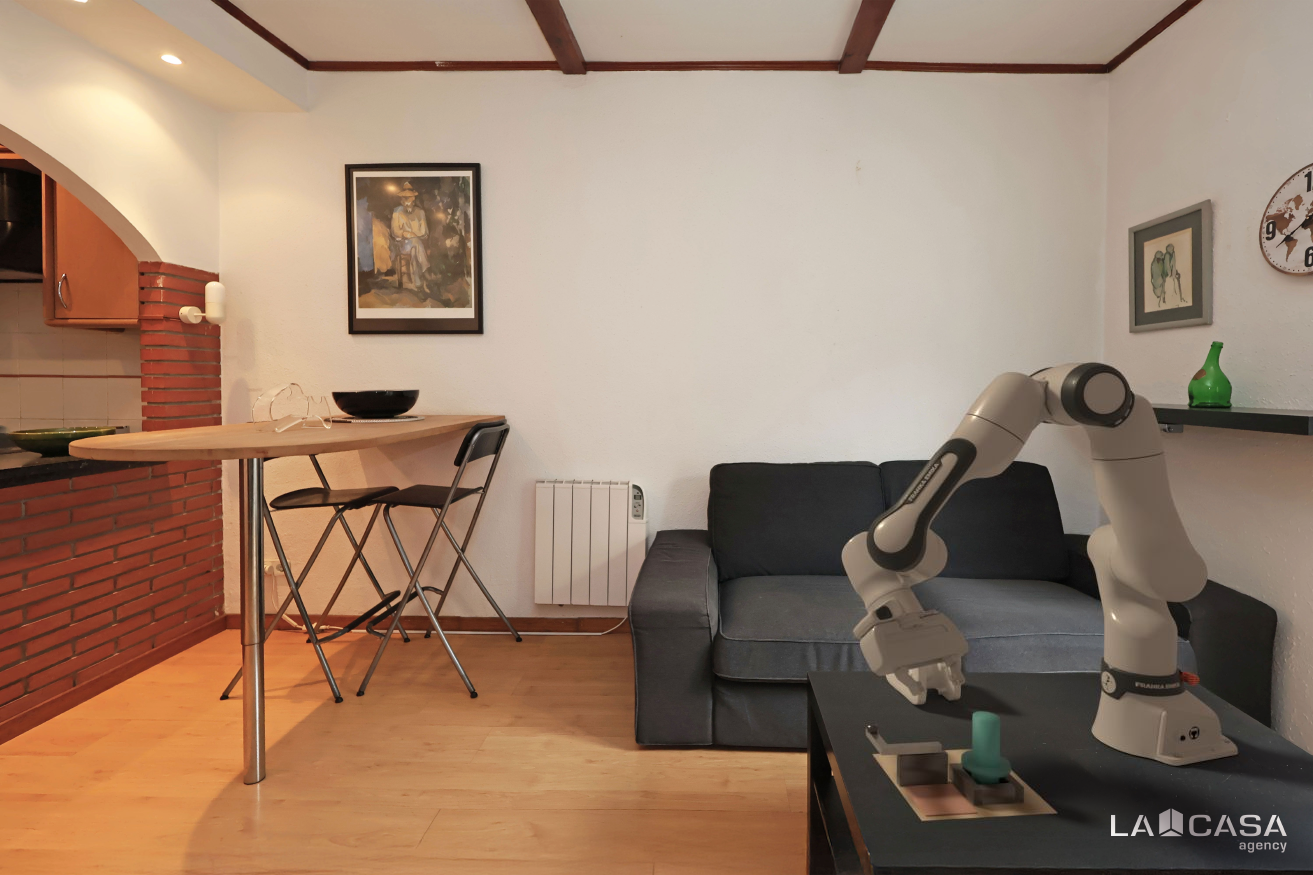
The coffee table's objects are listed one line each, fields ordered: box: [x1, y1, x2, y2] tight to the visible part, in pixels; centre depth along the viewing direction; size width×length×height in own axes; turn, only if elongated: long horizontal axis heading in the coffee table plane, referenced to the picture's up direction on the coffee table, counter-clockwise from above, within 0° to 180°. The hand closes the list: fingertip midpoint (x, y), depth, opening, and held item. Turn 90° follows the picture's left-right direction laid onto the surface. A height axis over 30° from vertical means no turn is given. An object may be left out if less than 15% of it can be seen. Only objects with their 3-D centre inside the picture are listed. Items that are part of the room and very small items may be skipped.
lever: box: [865, 722, 943, 756], centre depth 121 cm, size 10×7×2 cm
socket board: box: [872, 748, 1058, 822], centre depth 119 cm, size 21×20×6 cm
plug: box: [961, 710, 1012, 785], centre depth 116 cm, size 7×7×12 cm
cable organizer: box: [885, 657, 962, 705], centre depth 155 cm, size 15×11×12 cm
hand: (940, 688), depth 122 cm, fingers open, 8 cm apart
